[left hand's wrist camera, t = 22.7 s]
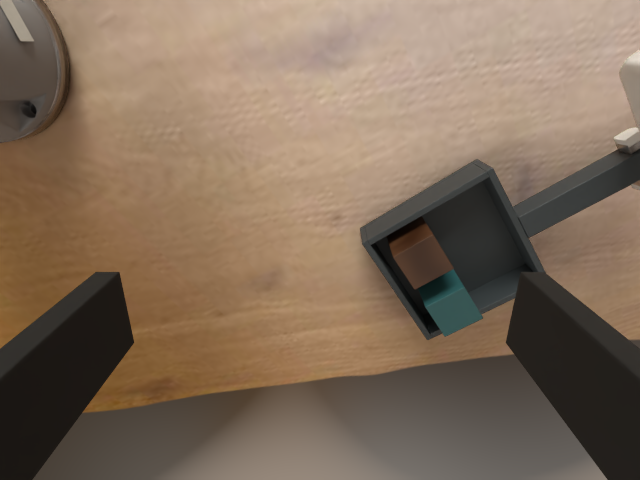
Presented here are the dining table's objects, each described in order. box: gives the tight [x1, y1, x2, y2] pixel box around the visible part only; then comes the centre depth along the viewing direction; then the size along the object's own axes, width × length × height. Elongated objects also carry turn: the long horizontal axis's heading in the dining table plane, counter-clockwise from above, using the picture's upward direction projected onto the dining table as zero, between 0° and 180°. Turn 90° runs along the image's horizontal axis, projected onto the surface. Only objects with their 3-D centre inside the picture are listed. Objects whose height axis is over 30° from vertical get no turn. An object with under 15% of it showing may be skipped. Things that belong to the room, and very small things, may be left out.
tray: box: [360, 150, 640, 340], centre depth 37 cm, size 26×13×4 cm, turn 124°
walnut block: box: [386, 216, 454, 289], centre depth 37 cm, size 4×4×6 cm
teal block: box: [418, 269, 483, 337], centre depth 39 cm, size 4×4×6 cm
